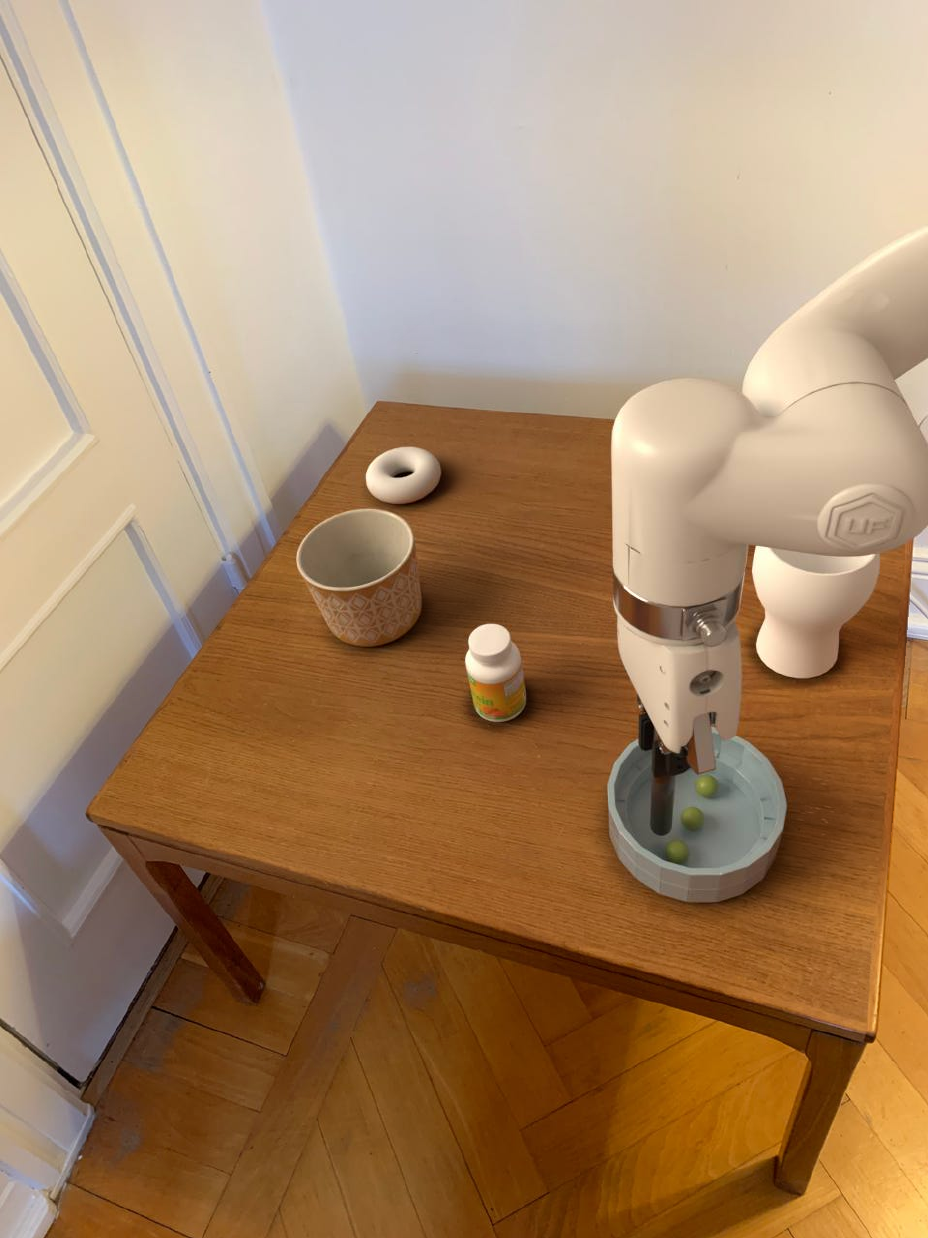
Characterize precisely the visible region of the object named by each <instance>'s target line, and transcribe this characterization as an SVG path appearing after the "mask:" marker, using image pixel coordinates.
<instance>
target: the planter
mask: <svg viewBox="0 0 928 1238" xmlns="http://www.w3.org/2000/svg"><path fill="white" fill-rule="evenodd" d="M295 559H296V560H295V561H296V566H297V569H298V572H299V574H300V576H301V578H302V579H303V581H304V583H305V585H306V587H307V589H308V591H309V592H310V595H311V596H312V598H313V600H314V602H315V604H316V606H317V608H318V610H319V612H320V613H321V615H322V617H323V619H324V622H325V623H326V625H327V626H328V629H329V630H330V632H331V633H332V634H333V635H334V636H335V637H336V638H337V639H338V640H340V641H341V642H343V643H346V644H349V645H351V646H355V647H362V648H370V647H371V648H372V647H378V646H379V647H380V646H383V645H386V644H389V643H392V642H394V641H396V640H398V639H399V638H401V637H402V636H404V635H405V634H407V633H408V632H409V631H410V630H411V629H412V628H413V627H414V625H415V624H416V622H417V621H418V619H419V616H420V614H421V612H422V606H423V599H422V591H421V590H422V589H421V582H420V573H419V566H418V565H419V564H418V557H417V550H416V541H415V533H414V531H413V529H412V527H411V525H410V524H409V523H408V522H407V520H405V518H403V517H401V516H400V515H398V514H396V513H395V512H392V511H389V510H384V509H380V508H357V509H352V510H347V511H343V512H340V513H338V514H335V515H333V516H330V517H329V518H327V519H325V520H323V521H322V522H320V523H319V524H317V525H316V526H314V527H313V528H312V529H311V530H310V531H309V532H308V533H307V534H306V535H305V537H303V540H302V541H301V542H300V545H299V546H298V549H297V551H296V558H295Z"/></svg>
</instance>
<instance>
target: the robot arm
mask: <svg viewBox="0 0 928 1238" xmlns="http://www.w3.org/2000/svg"><path fill="white" fill-rule="evenodd" d="M927 359H928V224H925V225H923V226H920V227H918V228H916V229H914V230H912V231H910V232H908V233H906V234H904V235H902V236H899V237H897V238H896V239H894V240H892V241H891V242H889V243H888V244H886V245H883V246H882V247H880V248H878V249H877V250H874V252H872V253H871V254H869V255H868V256H867V257H865V258H864V259H862V260H861V261H859V262H858V263H857V264H855V265H854V266H852V267H851V268H850V269H849V270H847V271H846V272H845V273H843V274H842V275H841V276H840V277H838V278H837V279H836V280H834V281H833V282H832V283H831V284H828V285H827V286H826V287H825V288H824V289H823V290H821V291H820V292H819V293H817V294H816V295H815V296H814V297H813V298H811V299H810V300H808V301H807V302H806V303H805V304H804V305H802V306H801V307H800V308H799V309H797V310H796V311H795V312H794V313H793V314H791V315H790V316H789V317H788V318H786V319H785V321H783V322H782V323H781V324H780V325H779V326H778V327H777V328H776V329H775V330H774V331H773V332H772V333H771V334H770V335H769V336H768V338H767V339H766V340H765V341H764V342H763V343H762V344H761V346H760V347H759V348H758V350H757V351H756V353H755V354H754V356H753V357H752V360H751V361H749V362H750V363H749V364H748V367H747V369H746V372H745V375H744V377H743V382H742V387H741V388H742V389H741V391H740V390H738V389H737V388H735V387H732V386H730V385H727V384H726V383H723V382H720V381H717V380H716V381H715V380H712V379H706V378H697V377H695V378H694V377H689V378H688V377H687V378H685V377H684V378H675V379H669V380H664V381H661V382H658V383H654V384H652V385H649V386H648V387H645V388H643V389H642V390H640V391H638V392H636V393H634V394H633V395H632V396H631V397H629V398H628V400H627V401H626V402H625V403H624V405H623V406H622V407H621V408H620V410H619V411H618V413H617V416H616V418H615V419H614V422H613V425H612V429H611V441H610V442H611V443H610V445H611V446H610V460H611V461H610V462H611V464H610V465H611V515H612V516H611V521H612V522H611V524H612V525H611V526H612V530H611V532H612V584H613V585H612V601H613V603H612V604H613V608H614V612H615V614H616V616H617V618H616V621H617V623H616V631H617V633H616V635H617V636H616V638H617V648H618V653H619V657H620V660H621V663H622V664H623V667H624V669H625V671H626V673H627V675H628V677H629V679H630V682H631V683H632V686H633V687H634V690H635V691H636V702H637V705H638V709H639V710H640V714H638V733H637V735H638V737H637V739H638V744H639V746H640V748H641V750H644V751H648V750H652V773H653V775H654V777H656V778H658V777H662V776H665V775H668V774H669V775H671V776H675V775H679V774H682V773H684V772H686V771H687V770H688V769H689V768H692V769H693V770H694V771H695V773H696V774H697V775H699V774H703V773H706V772H709V771H713V770H715V769H716V764H715V755H714V746H713V738H712V729H711V727H712V725H714V726H713V727H715V728H716V730H717V732H718V733H719V735H720V736H721V738H722V739H723V741H725V740H728V739H731V738H733V737H735V735H736V736H737V732H738V729H739V723H740V715H741V705H742V689H743V659H742V646H741V637H740V631H739V628H738V626H737V623H736V620H737V618H738V615H739V613H740V610H741V602H742V595H743V588H744V582H745V577H746V576H745V575H746V566H747V560H748V554H749V553H748V552H749V546H754V547H756V546H761V547H768V548H775V549H781V550H788V551H794V552H801V553H808V554H815V555H823V556H835V557H857V556H866V555H872V554H878V553H880V554H881V553H885V552H889V551H892V550H895V549H897V548H899V547H901V546H903V545H905V544H907V543H909V542H910V541H912V540H913V539H915V538H916V537H917V536H919V535H920V534H921V533H922V532H923V531H924V530H925V529H926V528H927V527H928V441H927V439H926V437H925V435H924V433H923V432H922V429H921V428H920V426H919V424H918V422H917V421H916V419H915V417H914V415H913V413H912V410H911V409H910V407H909V404H908V403H907V401H906V399H905V397H904V395H903V393H902V391H901V389H900V388H899V385H898V384H897V382H896V380H897V379H899V378H901V377H902V376H903V375H904V374H906V373H908V372H909V371H911V370H912V369H914V368H915V367H916V366H919V364H921V363H923V362H925V360H927ZM654 727H655V728H656V730H657V732H658V740H655V741H654Z"/></svg>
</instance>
